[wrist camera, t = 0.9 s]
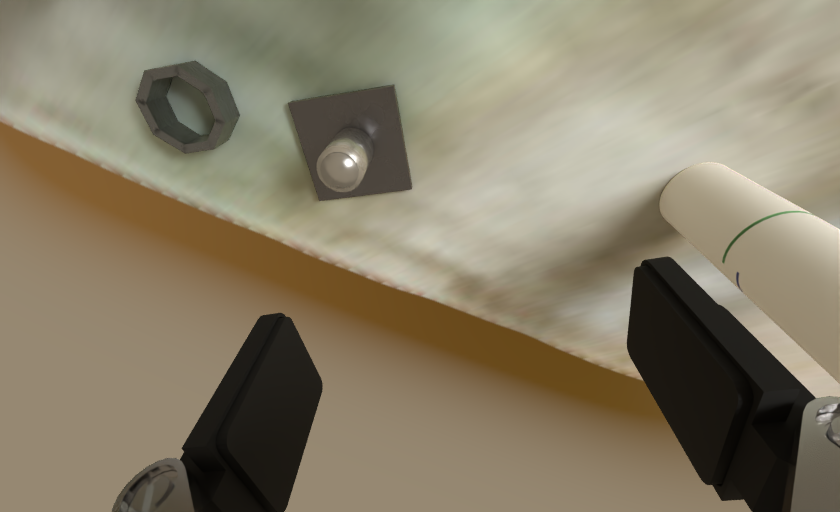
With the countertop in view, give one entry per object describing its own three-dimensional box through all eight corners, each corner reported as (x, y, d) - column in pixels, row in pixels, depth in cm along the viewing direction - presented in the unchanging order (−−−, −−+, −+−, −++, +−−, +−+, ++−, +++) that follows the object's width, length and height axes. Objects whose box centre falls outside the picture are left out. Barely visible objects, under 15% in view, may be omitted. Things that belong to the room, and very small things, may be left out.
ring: (144, 69, 35) (121, 74, 33) (216, 56, 34) (199, 60, 32) (182, 146, 39) (164, 156, 37) (248, 136, 38) (234, 145, 36)
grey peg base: (290, 101, 36) (261, 119, 30) (394, 84, 35) (385, 100, 29) (321, 197, 42) (301, 229, 36) (412, 186, 40) (407, 217, 34)
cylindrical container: (665, 235, 42) (887, 460, 21) (653, 181, 39) (902, 384, 18) (737, 209, 40) (1062, 429, 19) (731, 149, 37) (1116, 336, 16)
